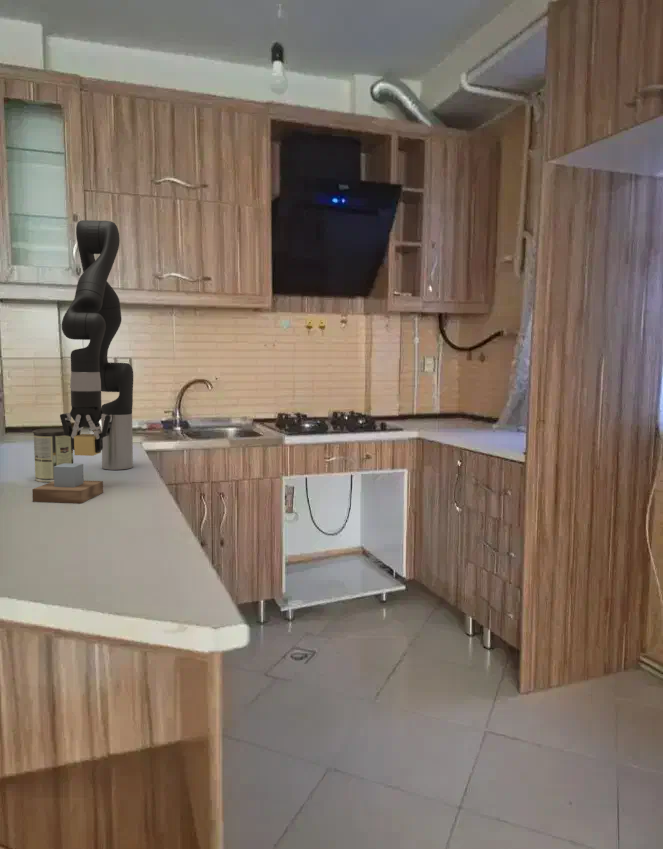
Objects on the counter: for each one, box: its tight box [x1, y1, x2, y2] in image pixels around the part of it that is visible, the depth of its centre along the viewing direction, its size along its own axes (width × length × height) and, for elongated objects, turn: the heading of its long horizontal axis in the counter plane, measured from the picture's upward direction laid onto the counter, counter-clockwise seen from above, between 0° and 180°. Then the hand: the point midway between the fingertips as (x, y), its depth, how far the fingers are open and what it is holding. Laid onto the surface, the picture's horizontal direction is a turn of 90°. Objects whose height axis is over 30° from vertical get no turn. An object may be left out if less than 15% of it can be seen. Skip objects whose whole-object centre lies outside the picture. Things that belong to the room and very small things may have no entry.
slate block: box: [54, 463, 85, 487], centre depth 150 cm, size 5×5×5 cm
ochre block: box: [73, 433, 102, 457], centre depth 162 cm, size 5×5×5 cm
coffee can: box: [32, 427, 74, 483], centre depth 172 cm, size 10×10×14 cm
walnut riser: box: [31, 480, 104, 504], centre depth 150 cm, size 12×12×3 cm
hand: (87, 451), depth 162 cm, fingers closed on ochre block, 5 cm apart
